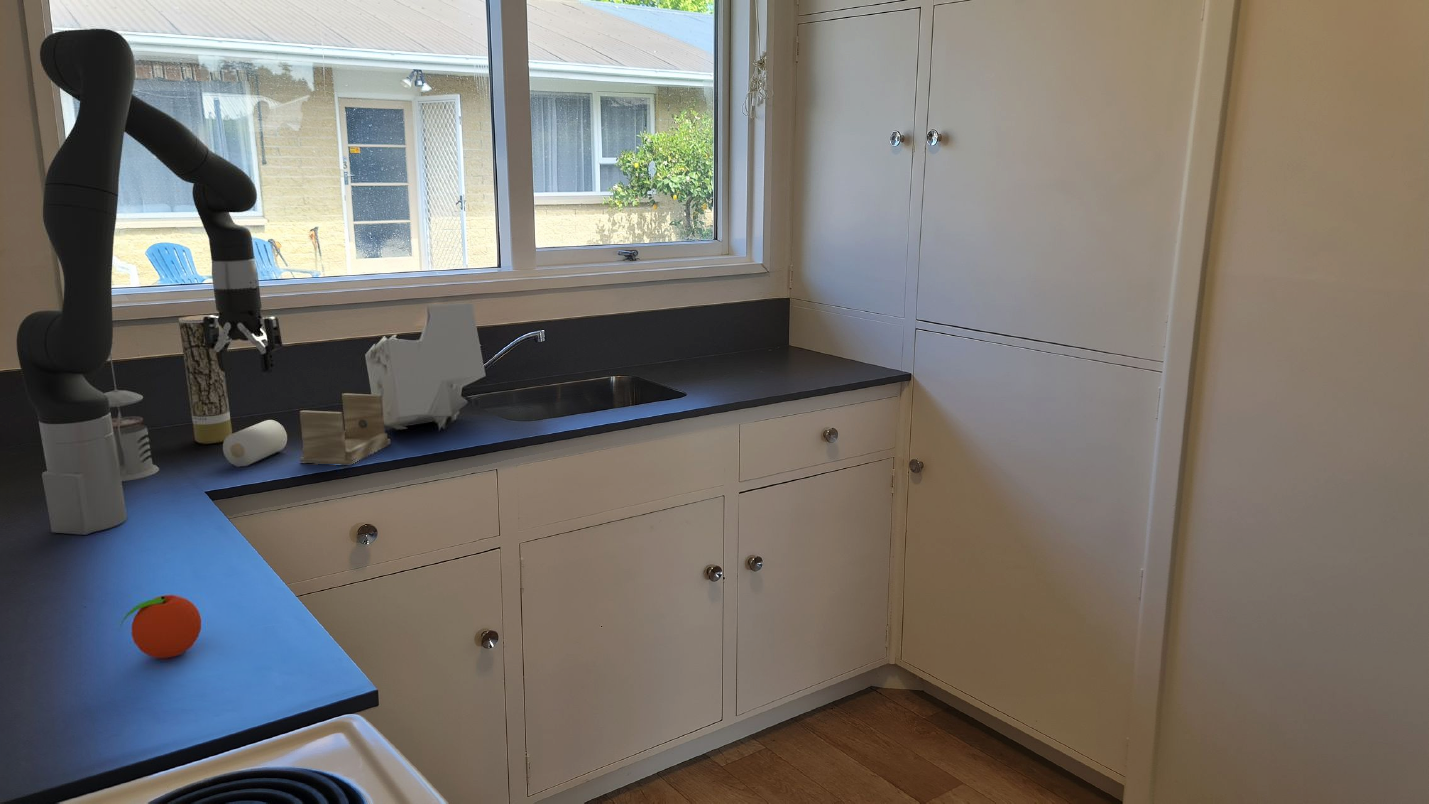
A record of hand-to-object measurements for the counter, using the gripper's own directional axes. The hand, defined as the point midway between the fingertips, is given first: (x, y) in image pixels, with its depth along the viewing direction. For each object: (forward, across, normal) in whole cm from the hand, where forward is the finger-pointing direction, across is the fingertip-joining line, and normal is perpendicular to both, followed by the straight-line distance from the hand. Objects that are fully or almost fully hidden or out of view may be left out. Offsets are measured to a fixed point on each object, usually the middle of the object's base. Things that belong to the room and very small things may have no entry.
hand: (247, 371), depth 183 cm
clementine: (+17, +39, -71) cm, 83 cm away
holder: (+17, +15, +6) cm, 23 cm away
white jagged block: (+17, +21, +27) cm, 38 cm away
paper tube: (+17, -17, +10) cm, 26 cm away
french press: (+17, -17, -13) cm, 27 cm away
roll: (+17, 0, 0) cm, 17 cm away
